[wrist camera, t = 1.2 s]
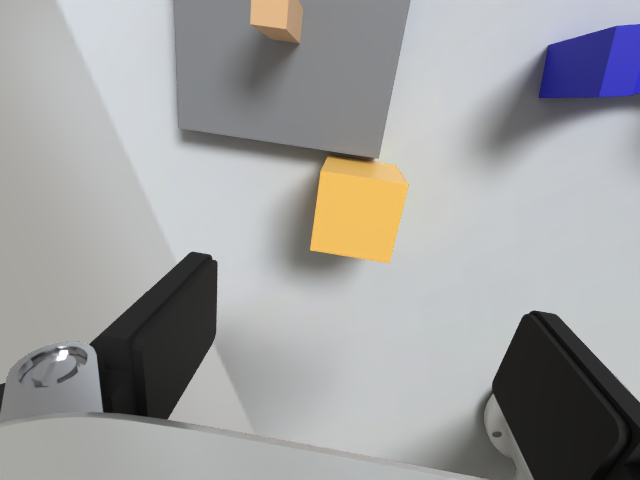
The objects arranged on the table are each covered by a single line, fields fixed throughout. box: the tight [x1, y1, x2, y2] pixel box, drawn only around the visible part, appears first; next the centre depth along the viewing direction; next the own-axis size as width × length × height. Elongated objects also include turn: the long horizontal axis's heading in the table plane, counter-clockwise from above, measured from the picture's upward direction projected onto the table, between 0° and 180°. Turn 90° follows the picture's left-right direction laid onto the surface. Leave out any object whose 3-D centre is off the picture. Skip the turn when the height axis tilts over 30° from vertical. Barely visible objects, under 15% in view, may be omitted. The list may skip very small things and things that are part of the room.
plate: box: [174, 0, 410, 159], centre depth 19 cm, size 14×14×6 cm
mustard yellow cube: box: [310, 155, 409, 263], centre depth 22 cm, size 5×5×6 cm
